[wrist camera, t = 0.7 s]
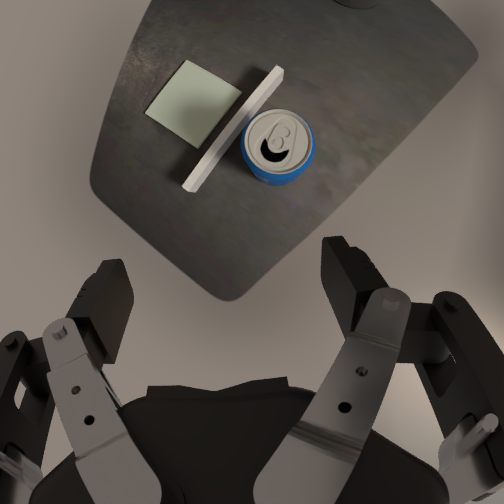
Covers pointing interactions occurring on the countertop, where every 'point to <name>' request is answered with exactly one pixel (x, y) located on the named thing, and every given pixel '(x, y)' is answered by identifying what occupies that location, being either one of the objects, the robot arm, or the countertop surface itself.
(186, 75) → the mat
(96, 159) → the countertop surface
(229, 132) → the low wall
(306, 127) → the beverage can
